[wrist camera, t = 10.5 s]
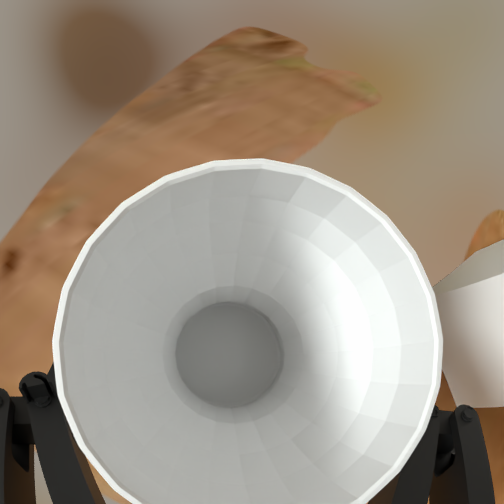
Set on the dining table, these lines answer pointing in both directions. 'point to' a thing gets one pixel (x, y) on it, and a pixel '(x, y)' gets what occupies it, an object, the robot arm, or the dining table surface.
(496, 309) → the milk
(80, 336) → the cup
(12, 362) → the dining table surface
